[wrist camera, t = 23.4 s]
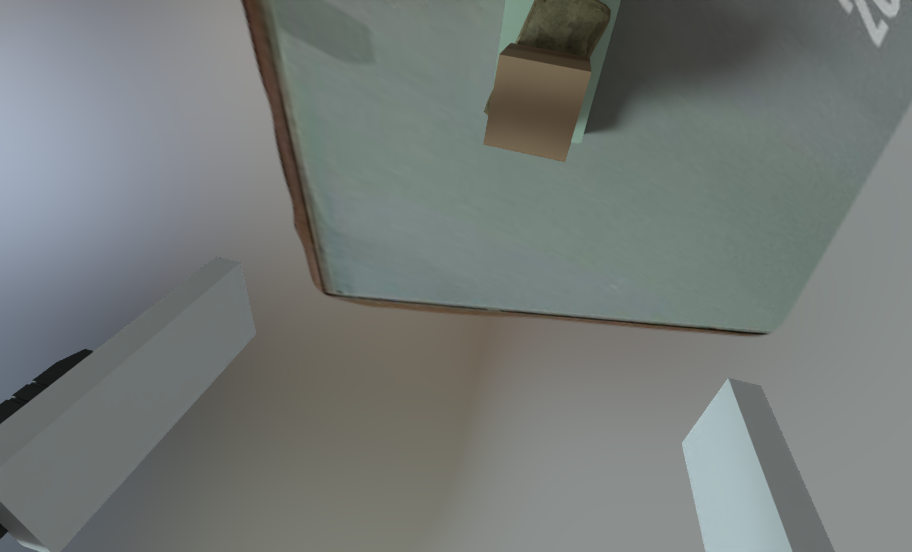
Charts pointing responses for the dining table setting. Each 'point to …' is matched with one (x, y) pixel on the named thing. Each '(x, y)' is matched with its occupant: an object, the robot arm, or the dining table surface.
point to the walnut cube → (536, 100)
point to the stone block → (564, 27)
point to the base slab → (513, 21)
